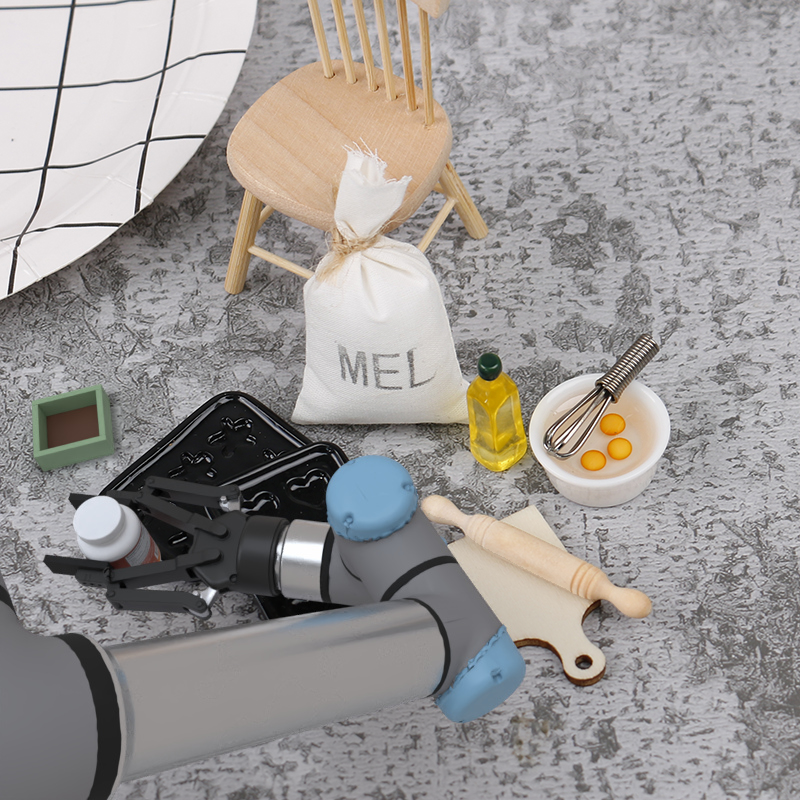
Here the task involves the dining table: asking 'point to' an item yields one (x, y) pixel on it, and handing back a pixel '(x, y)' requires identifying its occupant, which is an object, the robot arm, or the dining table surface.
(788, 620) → the dining table surface
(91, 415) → the holder
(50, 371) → the dining table surface
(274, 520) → the robot arm
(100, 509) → the pill bottle
